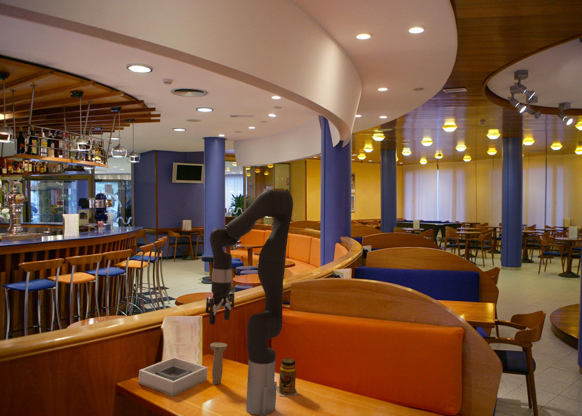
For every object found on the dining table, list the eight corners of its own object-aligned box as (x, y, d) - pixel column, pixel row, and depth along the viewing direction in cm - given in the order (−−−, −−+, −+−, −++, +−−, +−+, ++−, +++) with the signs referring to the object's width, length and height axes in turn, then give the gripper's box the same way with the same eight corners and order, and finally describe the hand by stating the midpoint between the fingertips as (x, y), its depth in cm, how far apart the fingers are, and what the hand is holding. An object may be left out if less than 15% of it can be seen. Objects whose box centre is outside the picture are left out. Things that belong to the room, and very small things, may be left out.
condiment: (280, 396, 158) (282, 364, 158) (274, 386, 166) (276, 356, 166) (299, 395, 160) (301, 363, 160) (292, 385, 168) (294, 355, 168)
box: (206, 379, 169) (207, 367, 169) (172, 396, 153) (173, 382, 153) (173, 368, 178) (174, 356, 178) (138, 383, 163) (139, 370, 162)
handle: (223, 386, 164) (225, 347, 164) (207, 385, 164) (209, 346, 164) (226, 381, 169) (228, 343, 168) (209, 380, 169) (211, 342, 169)
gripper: (217, 283, 158) (215, 327, 158) (240, 279, 170) (238, 319, 170) (201, 281, 162) (199, 324, 162) (225, 276, 174) (223, 316, 174)
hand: (219, 321), depth 166 cm, fingers open, 8 cm apart
